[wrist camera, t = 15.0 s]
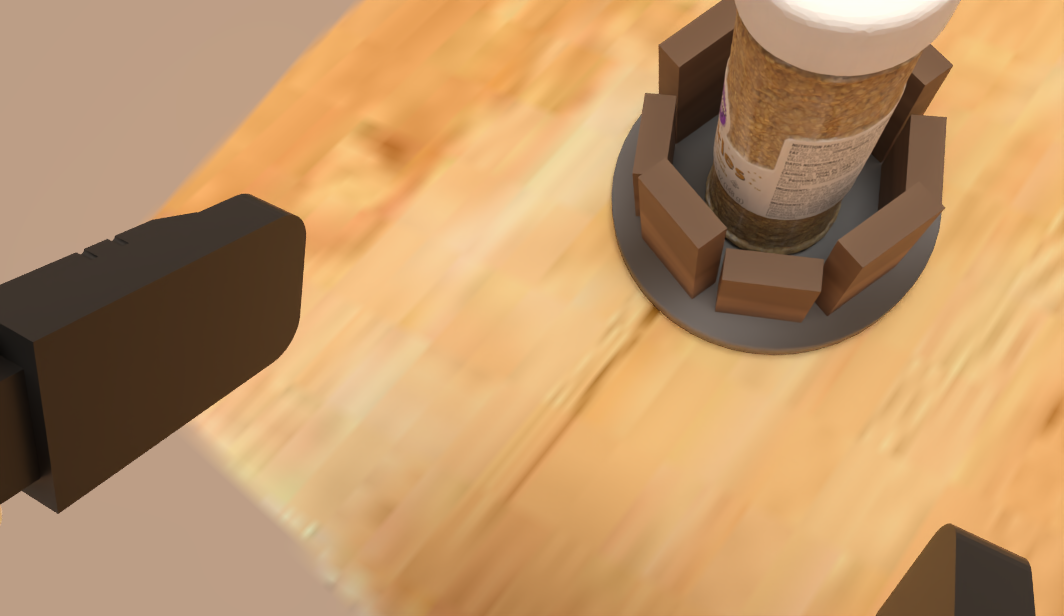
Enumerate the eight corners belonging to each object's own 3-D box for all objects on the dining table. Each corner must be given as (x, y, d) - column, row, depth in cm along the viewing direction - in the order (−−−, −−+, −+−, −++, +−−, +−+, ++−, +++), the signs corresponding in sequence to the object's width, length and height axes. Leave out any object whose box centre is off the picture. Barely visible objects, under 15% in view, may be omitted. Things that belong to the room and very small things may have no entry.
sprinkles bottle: (693, 152, 29) (718, -153, 16) (824, 128, 29) (956, -205, 16) (718, 272, 28) (767, 44, 15) (856, 249, 27) (1026, -7, 15)
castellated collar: (1004, 228, 28) (1092, 147, 22) (743, 419, 27) (765, 386, 22) (789, 15, 31) (818, -104, 26) (554, 181, 31) (530, 99, 25)
